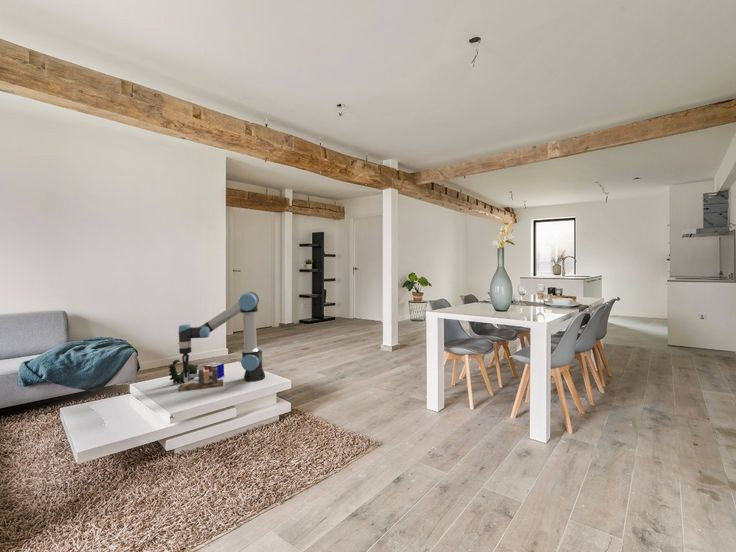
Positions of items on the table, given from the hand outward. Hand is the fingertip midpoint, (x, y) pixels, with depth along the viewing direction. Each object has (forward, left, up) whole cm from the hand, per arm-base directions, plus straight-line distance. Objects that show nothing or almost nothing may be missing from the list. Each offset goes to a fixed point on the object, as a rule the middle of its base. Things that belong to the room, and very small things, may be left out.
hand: (186, 380), depth 263 cm
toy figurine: (+3, -18, -5) cm, 19 cm away
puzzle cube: (-17, -19, -5) cm, 26 cm away
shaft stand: (-9, 0, -5) cm, 11 cm away
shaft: (-9, 0, +1) cm, 9 cm away
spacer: (-13, 0, -1) cm, 13 cm away
